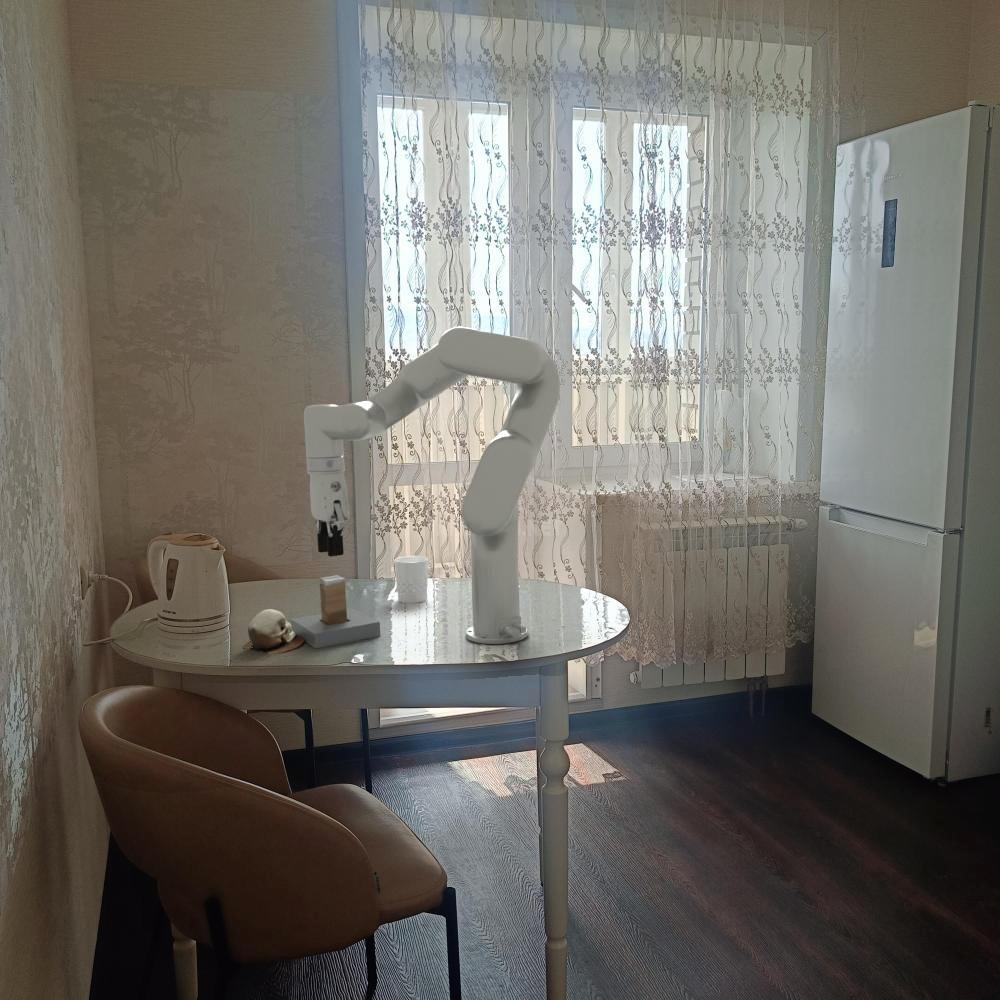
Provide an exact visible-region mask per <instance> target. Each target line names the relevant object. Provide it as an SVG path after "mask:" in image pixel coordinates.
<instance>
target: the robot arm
mask: <svg viewBox="0 0 1000 1000" xmlns="http://www.w3.org/2000/svg"><path fill="white" fill-rule="evenodd" d="M559 375H560V374H559V372H558V369H557V366H556V364H555V362H554V361H553V358H552V357H551V355H549V353H548V352H547V351H546V350H545V348H544V347H543V346H542V345H540V344H539V343H538V342H536V341H535V340H532V339H529V338H524V337H519V336H512V335H506V334H505V335H504V334H499V333H495V332H487V331H482V330H478V329H473V328H470V327H464V326H454V327H452V328H450V329H448V330H446V331H444V333H443V334H442V335H441V336H440V338H439V340H438V342H437V343H436V344H434V345H433V346H432V347H429V349H427V350H426V351H424V352H423V353H422V354H420V355H418V356H416V357H415V358H413V359H412V360H410V361H408V362H407V363H405V365H404V366H402V368H401V369H400V371H399V373H398V374H397V376H396V378H395V379H394V380H393V381H391V383H389V384H388V385H387V386H385V387H384V388H383V389H381V390H380V391H378V392H377V393H375V394H374V395H373V394H372V396H371V397H368V398H367V399H366V400H364V401H358V402H353V403H347V404H346V403H345V404H341V405H336V404H332V403H331V404H328V403H327V404H326V403H325V404H323V403H322V404H310V405H308V406H306V407H305V408H304V410H303V411H304V412H303V424H304V425H303V426H304V438H305V454H306V455H305V457H306V470H307V471H306V473H307V474H308V475H309V477H310V478H309V479H310V481H309V494H310V495H309V497H310V498H309V501H310V502H309V503H310V511H311V516H312V517H313V518H314V520H315V524H316V534H317V535H316V537H317V539H316V540H317V551H318V552H319V553H321V554H322V553H327V556H328V557H336V556H343V555H344V537H343V536H344V531H343V530H344V528H345V525H346V521H348V520H349V519H350V507H349V506H350V505H349V495H348V489H347V487H348V486H347V481H346V478H345V477H346V476H345V471H346V469H345V468H346V467H345V453H344V452H345V451H344V449H345V448H344V441H352V442H357V441H363V440H367V439H370V438H374V437H377V436H378V435H380V434H383V433H384V432H385V431H387V430H388V429H390V428H391V427H393V426H394V425H396V424H397V423H399V422H401V421H402V420H404V419H405V418H407V417H408V416H409V415H411V414H412V413H414V412H415V411H416V410H418V409H420V408H422V407H424V406H425V405H426V404H427V403H428V402H431V401H432V400H433V399H435V398H436V397H437V396H439V395H441V394H442V393H443V392H445V391H447V390H448V389H450V388H451V387H453V386H455V384H457V383H459V382H461V381H463V379H465V378H467V377H468V376H472V377H477V378H482V379H488V380H489V379H490V380H492V381H500V382H505V383H509V384H516V392H515V395H514V398H513V400H512V402H511V404H510V406H509V409H508V412H507V414H506V417H505V420H504V422H503V424H502V426H501V428H500V431H499V433H498V434H497V435H496V436H495V437H494V438H492V440H490V442H488V444H487V446H486V447H485V448H484V450H483V452H482V455H481V456H480V459H479V462H478V464H477V466H476V468H475V470H474V474H473V476H472V479H471V480H470V483H469V485H468V487H467V491H466V493H465V496H464V497H463V498H464V499H463V500H462V504H461V507H460V508H461V511H460V513H461V519H462V521H463V524H464V526H465V528H467V530H468V531H470V567H471V568H470V569H471V570H470V571H471V572H470V574H471V575H470V577H471V595H472V596H471V597H472V599H471V602H472V626H470V627H468V628H467V629H466V631H465V636H466V639H467V640H469V641H471V642H473V643H477V644H484V645H504V644H512V643H516V642H519V641H522V640H524V639H526V638H527V637H528V635H529V630H528V628H527V626H525V625H523V624H522V617H521V616H520V615H521V613H520V609H521V608H520V584H519V583H520V582H519V581H520V579H519V577H520V576H519V502H518V500H519V498H520V497H521V493H522V491H523V489H524V486H525V484H526V482H527V479H528V478H529V475H530V474H531V472H532V470H533V469H534V468H535V465H536V463H537V459H538V456H539V453H540V450H541V447H542V445H543V442H544V440H545V437H546V435H547V434H548V433H547V432H548V430H549V428H550V424H551V422H552V420H553V417H554V414H555V412H556V409H557V406H558V401H559V398H560V393H561V392H560V390H561V381H560V376H559ZM334 519H335V520H334Z"/></svg>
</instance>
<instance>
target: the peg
mask: <svg viewBox="0 0 1000 1000" xmlns="http://www.w3.org/2000/svg"><path fill="white" fill-rule="evenodd" d="M318 581H319V595H320V598H319V599H320V610H321V611H320V612H321V613H320V614H321V615H322V622H323V623H325V624H326V625H332V624H337V623H343V622H347V610H346V609H347V597H346V596H347V595H346V579H345V577H342V576H340V575H339V574H336V575H331V576H330V575H329V576H323V577H319V580H318Z"/></svg>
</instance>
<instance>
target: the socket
mask: <svg viewBox="0 0 1000 1000" xmlns="http://www.w3.org/2000/svg"><path fill="white" fill-rule="evenodd" d="M346 610H347V622H343V623H337V624H332V625H326V624H325V623H323V622H322V615H321V613H318V614H311V615H307V616H300V617H295V618H291V619H290V624H291V626H292V631H293V632H295V634H296V635H299V636H302V637H303V638H304V642H305V643H307V644H308V645H310V646H311V647H313V648H314V649H319V648H325V647H330V646H335V645H342V644H346V643H351V642H352V643H353V642H357V641H361V639H362V640H365V639H367V638H368V639H372V638H376V637H377V638H378V637H381V625H380V624H381V623H380V621H379V620H377V619H375V618H373V617H370V616H369V615H367V614H365V613H364V612H361V611H359V610H358V609H356V608H352V607H351V608H346Z"/></svg>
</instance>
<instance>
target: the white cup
mask: <svg viewBox="0 0 1000 1000" xmlns="http://www.w3.org/2000/svg"><path fill="white" fill-rule="evenodd" d="M428 560H429V559H428V557H427V556H423V555H407V556H401V557H400V556H399V557H396V558H394V561H393V563H394V572H395V573H394V574H395V583H396V590H397V599H398V600H397V601H398V602H399V603H401V602H402V603H403V604H419V602H420V603H423V602H426V601H427V600H428V573H429V571H428V570H429V569H428V563H429V562H428ZM425 600H426V601H425ZM402 603H401V604H402Z"/></svg>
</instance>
